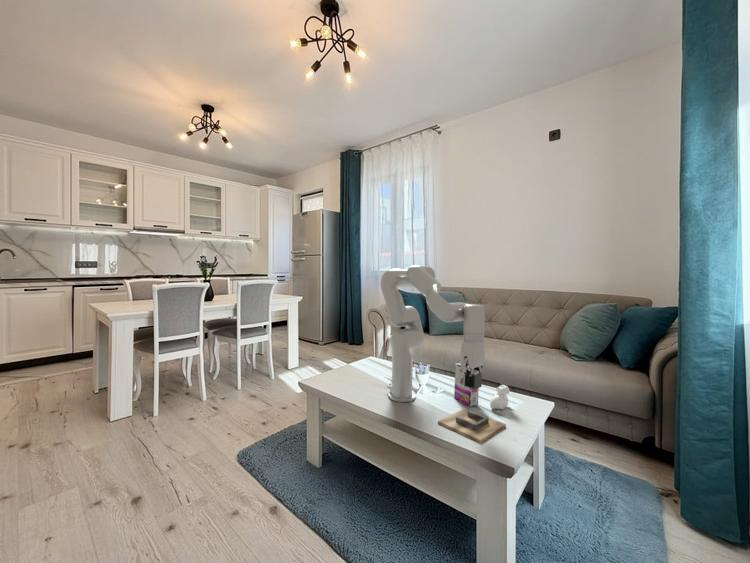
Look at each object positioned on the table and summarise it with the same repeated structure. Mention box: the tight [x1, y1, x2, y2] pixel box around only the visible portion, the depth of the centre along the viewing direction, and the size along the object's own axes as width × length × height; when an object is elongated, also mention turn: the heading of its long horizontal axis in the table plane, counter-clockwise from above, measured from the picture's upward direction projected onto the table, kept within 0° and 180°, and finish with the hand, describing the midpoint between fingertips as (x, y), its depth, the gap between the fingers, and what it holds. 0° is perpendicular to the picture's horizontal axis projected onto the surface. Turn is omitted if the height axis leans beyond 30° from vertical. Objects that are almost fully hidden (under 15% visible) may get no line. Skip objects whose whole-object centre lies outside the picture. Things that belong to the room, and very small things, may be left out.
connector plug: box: [464, 370, 483, 389], centre depth 119 cm, size 4×4×6 cm
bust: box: [489, 384, 510, 410], centre depth 135 cm, size 12×8×11 cm
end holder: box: [437, 408, 507, 444], centre depth 119 cm, size 18×18×3 cm
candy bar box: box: [453, 362, 479, 408], centre depth 142 cm, size 11×5×16 cm, turn 23°
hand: (472, 384), depth 119 cm, fingers closed on connector plug, 4 cm apart
